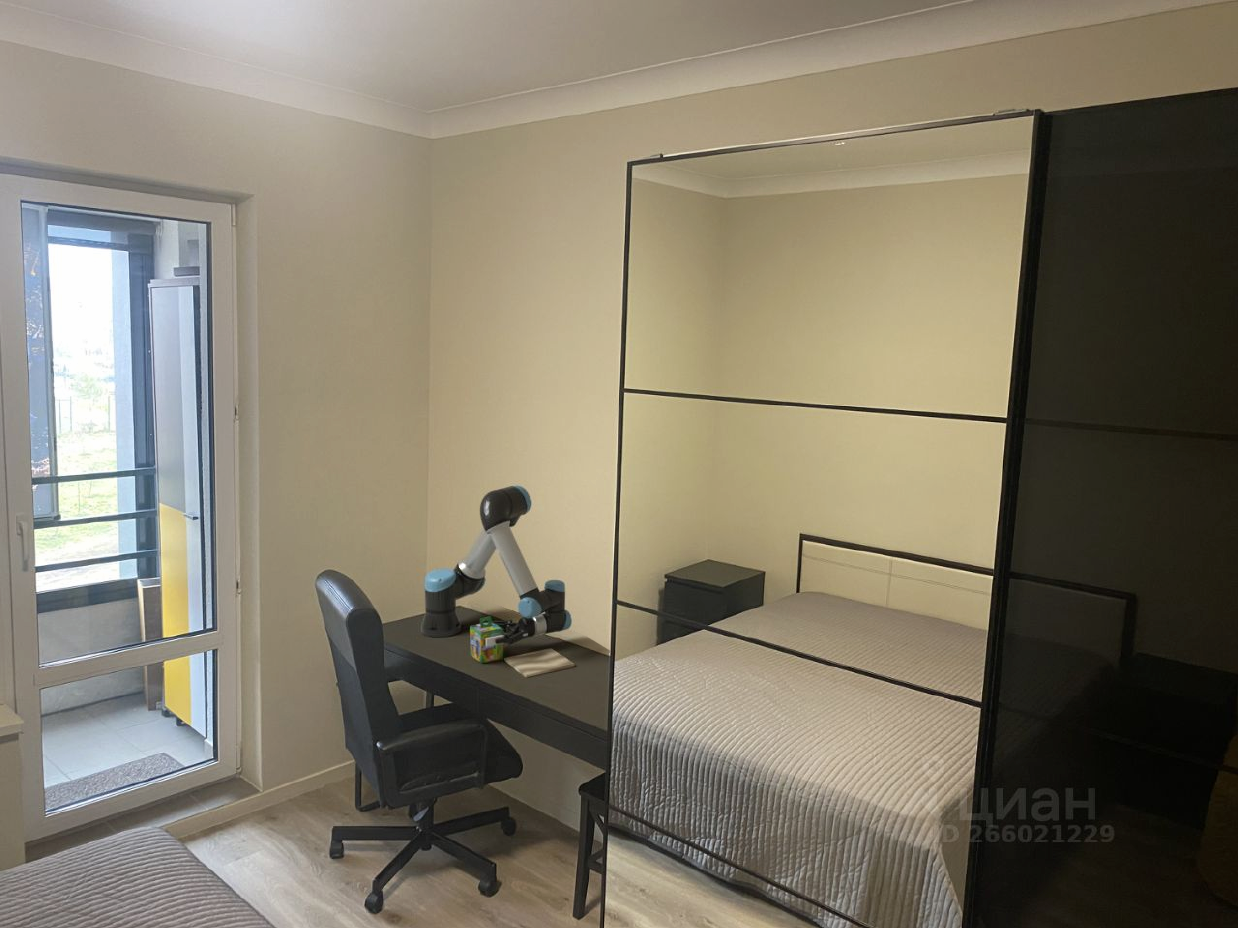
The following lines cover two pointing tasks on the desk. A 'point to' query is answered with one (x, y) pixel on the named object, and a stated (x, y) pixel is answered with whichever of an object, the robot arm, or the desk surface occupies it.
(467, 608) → the desk surface
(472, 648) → the chalk box
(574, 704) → the desk surface
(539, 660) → the birch board
